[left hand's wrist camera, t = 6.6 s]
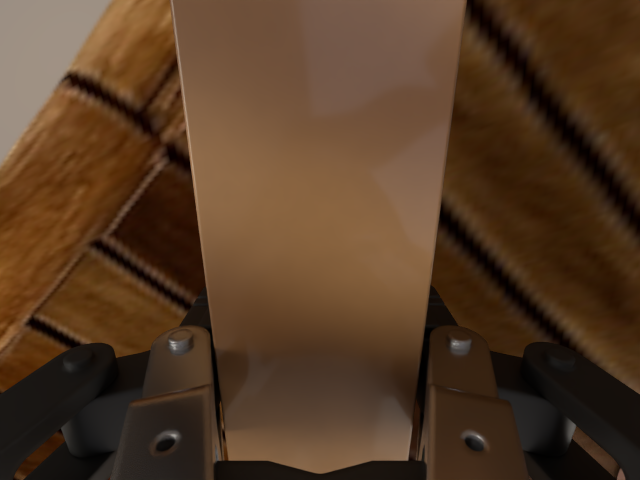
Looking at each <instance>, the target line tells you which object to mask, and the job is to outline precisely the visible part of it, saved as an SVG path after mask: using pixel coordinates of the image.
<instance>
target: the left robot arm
mask: <svg viewBox="0 0 640 480" xmlns="http://www.w3.org/2000/svg"><path fill="white" fill-rule="evenodd" d="M416 399H417V402H418V405H419V408H420V413H419V424H418V439H417V454H416V461H369V462H365V463H361V464H358V465H354V466H350V467H346V468H342V469H339V470H335V471H331V472H327V473H322V474H318V473H313V472H309V471H305V470H301V469H298V468H294V467H290V466H286V465H282V464H279V463H275V462H271V461H224V453H223V438H222V424H221V413H220V406H219V404H220V401H221V397H220V389H219V382H218V374H217V366H216V358H215V350H214V343H213V335H212V327H211V319H210V311H209V303H208V296H207V288H206V287H204V288H203V290H202V291H201V293H200V295H199V296H198V298H197V299H196V301H195V302H194V304H193V306H192V307H191V309H190V310H189V312H188V313H187V315H186V316H185V318H184V320H183V321H182V323H181V324H180V326H179V327H176V328H173V329H170V330H168V331H166V332H164V333H163V334H161V335H160V336H159V337H157V338H156V339H155V340H154V342H153V344H152V346H151V350H149V351H146V352H142V353H138V354H133V355H128V356H123V357H118V358H116V356H115V352H114V349H113V348H112V347H111V346H110V345H108V344H105V343H90V344H85V345H81V346H77V347H75V348H72V349H70V350H67V351H65V352H63V353H62V354H60V355H58V356H57V357H55V358H54V359H52V360H51V361H49V362H48V363H46V364H45V365H43V366H42V367H40V368H39V369H37V370H36V371H34V372H33V373H31V374H30V375H29V376H27V377H26V378H24V379H23V380H21V381H20V382H18V383H17V384H15V385H14V386H12V387H11V388H9V389H8V390H6V391H5V392H3V393H2V394H0V480H13V477H14V475H15V473H16V471H17V469H18V468H19V466H20V465H21V464H22V462H23V461H24V460H25V459H26V458H27V457H28V456H29V455H31V454H32V453H33V452H34V451H35V450H36V449H37V448H39V447H40V446H41V445H42V444H43V443H44V442H45V441H47V440H48V439H49V438H50V437H51V436H52V435H53V434H55V433H56V432H57V431H58V430H59V429H60V428H61V429H62V432H63V435H64V438H65V440H66V441H65V442H64V443H63V444H62V445H61V446H59V447H58V448H57V449H56V450H55V451H54V452H53V453H52V454H51V455H50V456H49V457H48V458H46V459H45V460H44V461H43V462H42V463H41V464H40V465H39V466H38V467H37V468H36V469H35V470H33V471H32V472H31V473H30V474H29V475H28V476H27V477H26V478H25V479H24V480H107V479H108V478H109V477H110V476H111V479H110V480H530V479H529V476H530V477H531V478H532V479H533V480H616V479H615V478H614V477H613V476H612V475H611V474H610V473H609V472H608V471H607V470H605V469H604V468H603V467H602V466H601V465H600V464H599V463H598V462H597V461H596V460H595V459H594V458H592V457H591V456H590V455H589V454H588V453H587V452H586V451H585V450H584V449H583V448H582V447H581V446H579V445H578V444H577V443H576V442H575V441H574V440H573V439H572V436H573V433H574V430H575V428H576V426H577V427H579V428H580V429H581V430H582V431H583V432H584V433H585V434H587V435H588V436H589V437H590V438H591V439H592V440H593V441H595V442H596V443H597V444H598V445H599V446H600V447H601V448H603V449H604V450H605V451H606V452H607V453H608V454H609V455H611V456H612V457H613V458H614V460H615V461H616V462H617V463H618V465H619V466H620V468H621V469H622V471H623V473H624V476H625V480H640V394H638V393H637V392H635V391H634V390H632V389H631V388H629V387H628V386H626V385H625V384H623V383H622V382H620V381H619V380H617V379H616V378H614V377H613V376H611V375H610V374H608V373H607V372H606V371H604V370H603V369H601V368H600V367H598V366H597V365H595V364H594V363H592V362H591V361H589V360H588V359H586V358H585V357H583V356H582V355H580V354H579V353H577V352H575V351H573V350H571V349H569V348H567V347H564V346H561V345H558V344H554V343H548V342H535V343H531V344H529V345H527V346H526V348H525V350H524V354H523V358H521V357H516V356H511V355H507V354H502V353H497V352H493V351H490V350H489V346H488V344H487V342H486V340H485V339H484V338H483V337H482V336H480V335H479V334H477V333H476V332H474V331H472V330H470V329H467V328H464V327H460V326H458V324H457V323H456V321H455V320H454V318H453V317H452V315H451V313H450V312H449V310H448V309H447V307H446V306H445V305H444V302H443V301H442V299H441V298H440V296H439V294H438V293H437V291H436V289H435V288H434V287H433V286H431V285H430V292H429V300H428V308H427V316H426V323H425V331H424V339H423V347H422V355H421V363H420V370H419V378H418V386H417V394H416Z"/></svg>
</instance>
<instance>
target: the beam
mask: <svg viewBox="0 0 640 480" xmlns="http://www.w3.org/2000/svg"><path fill="white" fill-rule="evenodd" d="M466 3H467V0H170V7H171V15H172V23H173V30H174V38H175V46H176V54H177V62H178V69H179V77H180V85H181V93H182V101H183V108H184V116H185V124H186V132H187V140H188V147H189V155H190V163H191V171H192V179H193V186H194V194H195V202H196V210H197V218H198V225H199V233H200V241H201V249H202V257H203V264H204V272H205V280H206V288H207V296H208V303H209V311H210V319H211V327H212V335H213V343H214V350H215V358H216V366H217V374H218V382H219V389H220V397H221V405H222V413H223V421H224V428H225V436H226V444H227V452H228V460H229V461H271V462H275V463H279V464H282V465H286V466H290V467H294V468H298V469H301V470H305V471H309V472H313V473H318V474H322V473H327V472H331V471H335V470H339V469H342V468H346V467H350V466H354V465H358V464H361V463H365V462H369V461H408V457H409V449H410V441H411V433H412V425H413V417H414V410H415V402H416V394H417V386H418V378H419V370H420V363H421V355H422V347H423V339H424V331H425V323H426V316H427V308H428V300H429V292H430V284H431V277H432V269H433V261H434V253H435V245H436V237H437V230H438V222H439V214H440V206H441V198H442V190H443V183H444V175H445V167H446V159H447V151H448V144H449V136H450V128H451V120H452V112H453V104H454V97H455V89H456V81H457V73H458V65H459V57H460V50H461V42H462V34H463V26H464V18H465V11H466Z"/></svg>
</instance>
